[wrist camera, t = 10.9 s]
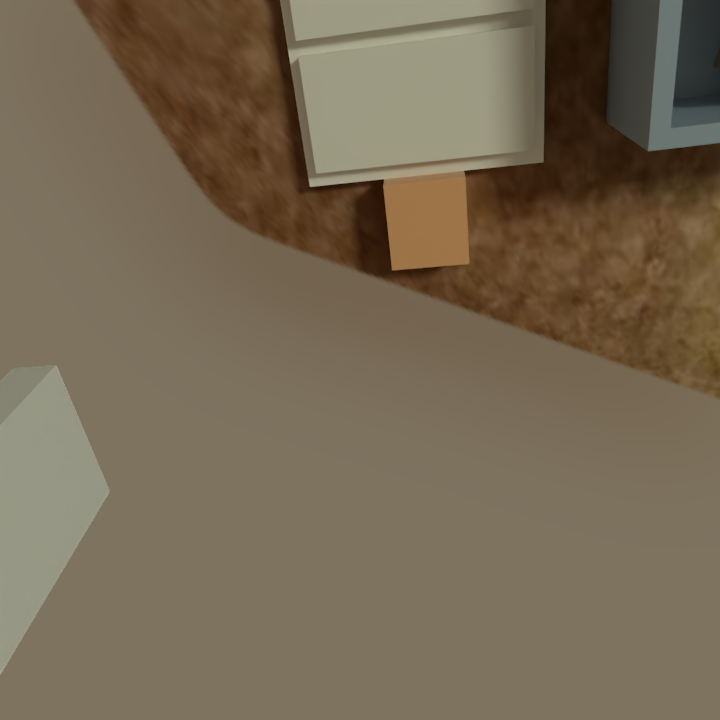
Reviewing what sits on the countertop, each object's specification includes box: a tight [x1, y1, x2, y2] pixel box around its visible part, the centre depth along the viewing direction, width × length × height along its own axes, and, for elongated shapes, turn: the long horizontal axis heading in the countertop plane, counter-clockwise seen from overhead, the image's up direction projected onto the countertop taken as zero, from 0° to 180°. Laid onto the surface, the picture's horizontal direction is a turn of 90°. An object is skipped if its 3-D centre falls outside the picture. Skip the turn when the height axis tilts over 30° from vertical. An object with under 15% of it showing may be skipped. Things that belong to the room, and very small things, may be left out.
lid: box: [280, 0, 546, 270], centre depth 27 cm, size 16×11×2 cm
